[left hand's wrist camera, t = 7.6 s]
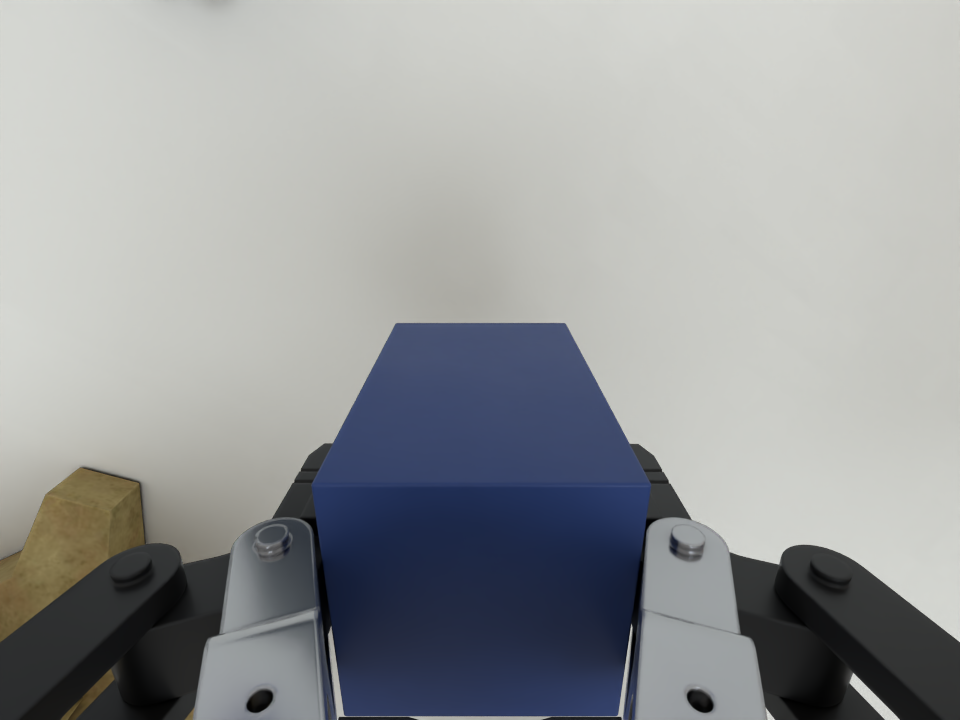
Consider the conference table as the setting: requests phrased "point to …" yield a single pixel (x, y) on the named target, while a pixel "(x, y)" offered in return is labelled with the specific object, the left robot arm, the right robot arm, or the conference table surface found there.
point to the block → (481, 528)
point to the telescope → (70, 550)
